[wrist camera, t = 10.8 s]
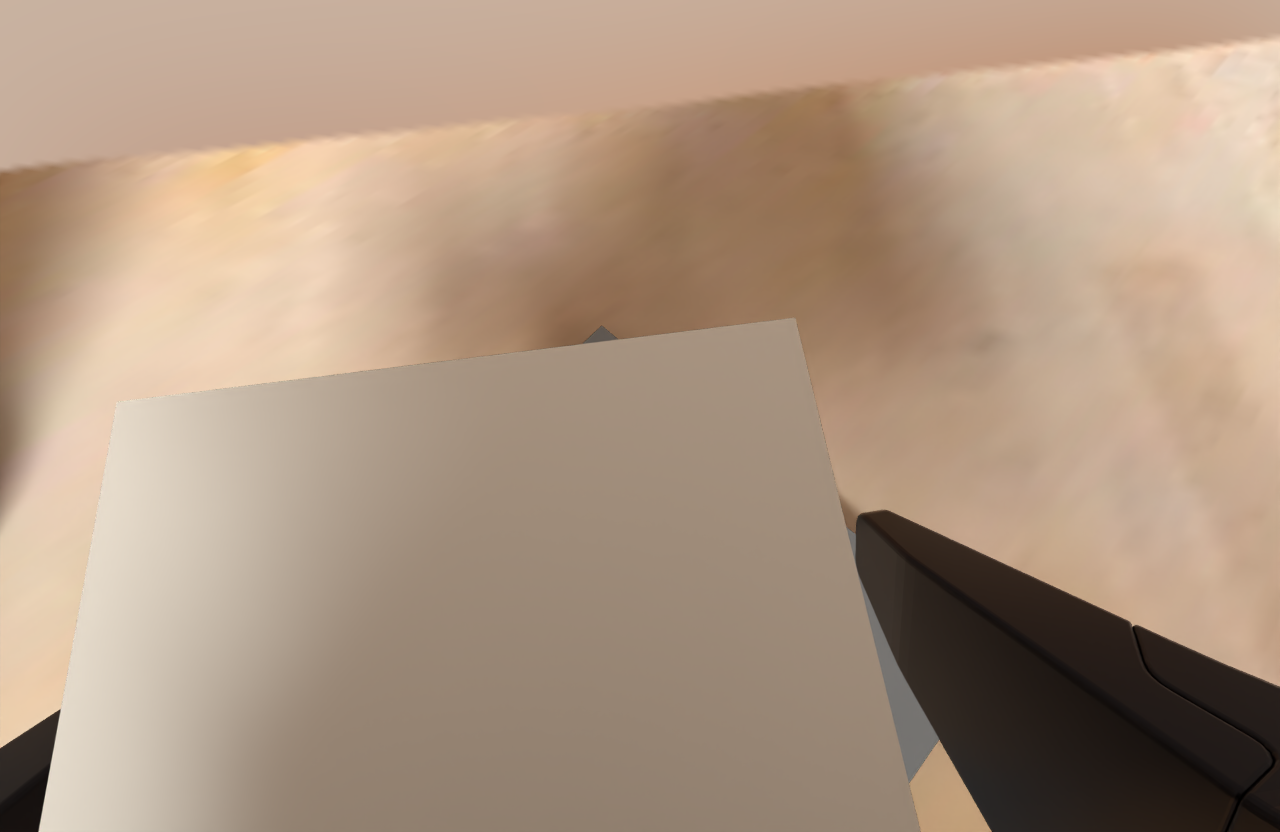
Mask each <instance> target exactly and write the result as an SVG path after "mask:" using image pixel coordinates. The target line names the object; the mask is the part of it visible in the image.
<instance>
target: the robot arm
mask: <svg viewBox="0 0 1280 832" xmlns="http://www.w3.org/2000/svg"><path fill="white" fill-rule="evenodd" d="M855 561H856V568H857V571H858V575H859V577H860V580H861V582H862V584H863V587H864V589H865V591H866V593H867V596H868V598H869V600H870V603H871V605H872V607H873V610H874V612H875V614H876V617H877V619H878V621H879V624H880V626H881V628H882V631H883V633H884V635H885V638H886V640H887V642H888V645H889V647H890V649H891V652H892V654H893V656H894V658H895V660H896V663H897V665H898V667H899V669H900V671H901V672H902V674H903V676H904V678H905V680H906V682H907V683H908V685H909V687H910V689H911V691H912V692H913V694H914V696H915V698H916V699H917V701H918V703H919V705H920V706H921V708H922V710H923V712H924V713H925V715H926V717H927V719H928V720H929V722H930V724H931V726H932V727H933V729H934V731H935V733H936V734H937V736H938V738H939V740H940V741H941V743H942V745H943V747H944V749H945V750H946V752H947V754H948V756H949V757H950V759H951V761H952V763H953V764H954V766H955V768H956V770H957V771H958V773H959V775H960V777H961V778H962V780H963V782H964V784H965V785H966V787H967V789H968V791H969V792H970V794H971V796H972V798H973V799H974V801H975V803H976V805H977V807H978V808H979V810H980V812H981V814H982V815H983V817H984V819H985V821H986V822H987V824H988V826H989V828H990V829H991V831H992V832H1280V687H1279V686H1277V685H1274V684H1272V683H1269V682H1267V681H1265V680H1262V679H1260V678H1257V677H1255V676H1252V675H1250V674H1247V673H1245V672H1243V671H1240V670H1238V669H1235V668H1233V667H1230V666H1228V665H1226V664H1223V663H1221V662H1219V661H1217V660H1214V659H1212V658H1210V657H1207V656H1205V655H1203V654H1201V653H1198V652H1196V651H1194V650H1192V649H1189V648H1187V647H1185V646H1183V645H1180V644H1178V643H1176V642H1174V641H1171V640H1169V639H1167V638H1165V637H1163V636H1160V635H1158V634H1156V633H1154V632H1152V631H1150V630H1147V629H1145V628H1143V627H1141V626H1139V625H1134V626H1133V627H1132V624H1131V623H1130V622H1129V621H1128V620H1125V619H1123V618H1121V617H1119V616H1117V615H1115V614H1112V613H1110V612H1108V611H1106V610H1104V609H1101V608H1099V607H1097V606H1095V605H1093V604H1091V603H1088V602H1086V601H1084V600H1082V599H1080V598H1078V597H1075V596H1073V595H1071V594H1069V593H1067V592H1065V591H1062V590H1060V589H1058V588H1056V587H1054V586H1051V585H1049V584H1047V583H1045V582H1043V581H1041V580H1038V579H1036V578H1034V577H1032V576H1030V575H1028V574H1025V573H1023V572H1021V571H1019V570H1017V569H1014V568H1012V567H1010V566H1008V565H1006V564H1004V563H1001V562H999V561H997V560H995V559H993V558H991V557H988V556H986V555H984V554H982V553H980V552H978V551H975V550H973V549H971V548H969V547H967V546H964V545H962V544H960V543H958V542H956V541H954V540H951V539H949V538H947V537H945V536H943V535H941V534H938V533H936V532H934V531H932V530H930V529H928V528H925V527H923V526H921V525H919V524H917V523H914V522H912V521H910V520H908V519H906V518H904V517H901V516H899V515H897V514H895V513H893V512H890V511H888V510H879V511H873V512H866V513H861V514H860V515H859V516H858V518H857V522H856V552H855ZM60 712H61V709H60V710H58V711H57V712H55V713H54V714H52V715H51V716H49V717H48V718H46V719H45V720H43V721H41V722H40V723H38V724H37V725H35V726H34V727H32V728H31V729H29V730H28V731H26V732H25V733H23V734H21V735H20V736H18V737H17V738H15V739H14V740H12V741H11V742H9V743H8V744H6V745H5V746H3V747H1V748H0V832H39V827H40V821H41V816H42V810H43V805H44V799H45V794H46V788H47V783H48V777H49V772H50V766H51V761H52V755H53V750H54V744H55V739H56V733H57V728H58V722H59V717H60Z"/></svg>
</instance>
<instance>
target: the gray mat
mask: <svg viewBox="0 0 1280 832" xmlns="http://www.w3.org/2000/svg"><path fill="white" fill-rule="evenodd" d="M611 340H619V339H617V338H616V337H615V336H614V335H613V334H611V333H610V332H609V331H608V330H606V329H605V328H604V327H603V326H601V327H600V328H599V329H597V330H596V331H595V332H594V333H593V334H592V335H591V336H590V337H589V338H588V339H587V340H586V341H585V342H584V343H583V344H586V343H594V342H602V341H611ZM846 528H847V527H846ZM847 532H848V536H849V540H850V544H851V548H852V552H853V556H854V560H855V552H856V534H855V533H853V532H852V531H851V530H850V529H849V528H847ZM855 564H856V561H855ZM856 569H857V568H856ZM857 573H858V571H857ZM858 577H859V575H858ZM859 581H860V585H861V589H862V593H863V597H864V601H865V605H866V609H867V614H868V618H869V622H870V626H871V630H872V634H873V638H874V642H875V646H876V650H877V655H878V659H879V663H880V667H881V671H882V675H883V679H884V683H885V687H886V691H887V696H888V700H889V704H890V708H891V712H892V716H893V720H894V724H895V728H896V732H897V737H898V741H899V745H900V749H901V753H902V757H903V761H904V765H905V769H906V773H907V778H908V782H909V783H910V781H911V780H912V778H913V777H914V775H915V774H916V773H917V771H918V770H919V768H920V767H921V765H922V764H923V762H924V761H925V759H926V758H927V756H928V755H929V754H930V752H931V751H932V749H933V748H934V746H935V745H936V743H937V742H938V740H939V738H938V736H937V734H936V733H935V731H934V729H933V727H932V726H931V724H930V722H929V720H928V719H927V717H926V715H925V713H924V712H923V710H922V708H921V706H920V705H919V703H918V701H917V699H916V698H915V696H914V694H913V692H912V691H911V689H910V687H909V685H908V683H907V682H906V680H905V678H904V676H903V674H902V672H901V671H900V669H899V667H898V665H897V663H896V660H895V658H894V656H893V654H892V652H891V649H890V647H889V645H888V642H887V640H886V638H885V635H884V633H883V631H882V628H881V626H880V624H879V621H878V619H877V617H876V614H875V612H874V610H873V607H872V605H871V603H870V600H869V598H868V596H867V593H866V591H865V589H864V587H863V584H862V582H861V580H860V577H859Z"/></svg>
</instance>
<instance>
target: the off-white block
mask: <svg viewBox="0 0 1280 832" xmlns="http://www.w3.org/2000/svg"><path fill="white" fill-rule="evenodd" d="M39 832H921V831H920V827H919V823H918V819H917V814H916V810H915V806H914V802H913V798H912V794H911V790H910V786H909V782H908V778H907V773H906V769H905V765H904V761H903V757H902V753H901V749H900V745H899V741H898V737H897V732H896V728H895V724H894V720H893V716H892V712H891V708H890V704H889V700H888V696H887V691H886V687H885V683H884V679H883V675H882V671H881V667H880V663H879V659H878V655H877V650H876V646H875V642H874V638H873V634H872V630H871V626H870V622H869V618H868V614H867V609H866V605H865V601H864V597H863V593H862V589H861V585H860V581H859V577H858V573H857V569H856V564H855V560H854V556H853V552H852V548H851V544H850V540H849V536H848V532H847V528H846V523H845V519H844V515H843V511H842V507H841V503H840V499H839V495H838V491H837V487H836V482H835V478H834V474H833V470H832V466H831V462H830V458H829V454H828V450H827V446H826V441H825V437H824V433H823V429H822V425H821V421H820V417H819V413H818V409H817V405H816V400H815V396H814V392H813V388H812V384H811V380H810V376H809V372H808V368H807V364H806V359H805V355H804V351H803V347H802V343H801V339H800V335H799V331H798V327H797V323H796V318H788V319H780V320H771V321H763V322H755V323H747V324H739V325H731V326H723V327H715V328H707V329H699V330H691V331H683V332H675V333H667V334H659V335H651V336H643V337H635V338H627V339H619V340H611V341H602V342H594V343H586V344H578V345H570V346H562V347H554V348H546V349H538V350H530V351H522V352H514V353H506V354H498V355H490V356H482V357H474V358H466V359H458V360H450V361H441V362H433V363H425V364H417V365H409V366H401V367H393V368H385V369H377V370H369V371H361V372H353V373H345V374H337V375H329V376H321V377H313V378H305V379H297V380H289V381H281V382H272V383H264V384H256V385H248V386H240V387H232V388H224V389H216V390H208V391H200V392H192V393H184V394H176V395H168V396H160V397H152V398H144V399H136V400H128V401H120V402H117V404H116V409H115V415H114V420H113V426H112V431H111V437H110V442H109V448H108V453H107V459H106V464H105V470H104V475H103V481H102V486H101V492H100V497H99V503H98V508H97V514H96V519H95V525H94V530H93V536H92V541H91V547H90V552H89V558H88V563H87V569H86V574H85V580H84V585H83V591H82V596H81V602H80V607H79V613H78V618H77V624H76V629H75V635H74V640H73V646H72V651H71V657H70V662H69V668H68V673H67V679H66V684H65V690H64V695H63V701H62V706H61V712H60V717H59V722H58V728H57V733H56V739H55V744H54V750H53V755H52V761H51V766H50V772H49V777H48V783H47V788H46V794H45V799H44V805H43V810H42V816H41V821H40V827H39Z"/></svg>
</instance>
